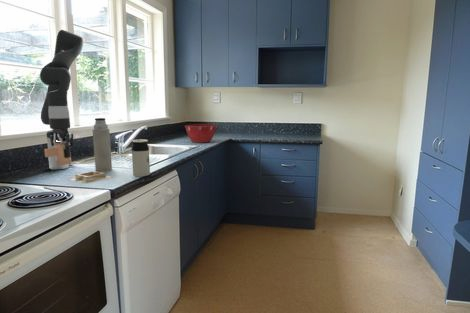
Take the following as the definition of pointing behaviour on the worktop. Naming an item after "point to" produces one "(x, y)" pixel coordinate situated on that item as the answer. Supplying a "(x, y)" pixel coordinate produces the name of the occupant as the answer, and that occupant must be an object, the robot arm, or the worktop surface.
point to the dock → (90, 177)
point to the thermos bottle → (102, 145)
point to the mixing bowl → (200, 132)
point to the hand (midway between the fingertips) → (63, 156)
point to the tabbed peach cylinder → (58, 154)
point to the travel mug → (140, 158)
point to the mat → (51, 189)
